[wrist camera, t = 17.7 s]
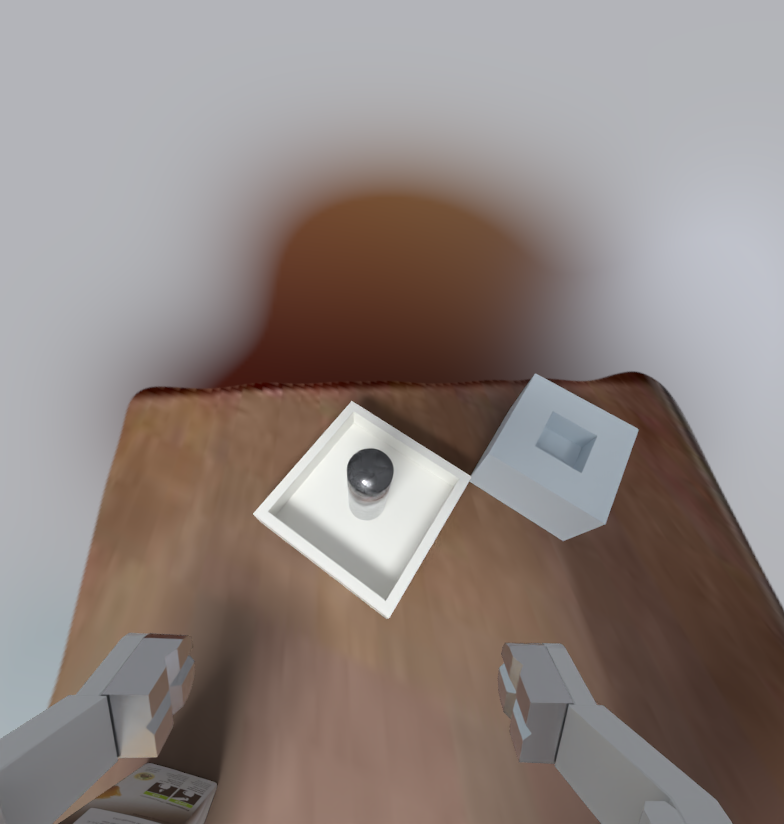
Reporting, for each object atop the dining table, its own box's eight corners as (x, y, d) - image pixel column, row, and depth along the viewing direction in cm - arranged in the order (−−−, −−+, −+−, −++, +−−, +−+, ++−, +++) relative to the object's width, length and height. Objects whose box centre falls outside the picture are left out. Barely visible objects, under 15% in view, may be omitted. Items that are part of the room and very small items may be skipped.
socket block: (596, 458, 46) (638, 429, 39) (563, 541, 41) (605, 524, 34) (509, 408, 49) (535, 373, 42) (467, 480, 43) (488, 453, 36)
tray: (463, 487, 43) (471, 476, 40) (386, 618, 36) (388, 618, 33) (352, 415, 46) (351, 400, 43) (261, 522, 39) (252, 514, 36)
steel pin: (392, 497, 41) (402, 464, 32) (371, 528, 39) (376, 502, 30) (362, 477, 42) (364, 440, 33) (341, 506, 40) (337, 475, 31)
